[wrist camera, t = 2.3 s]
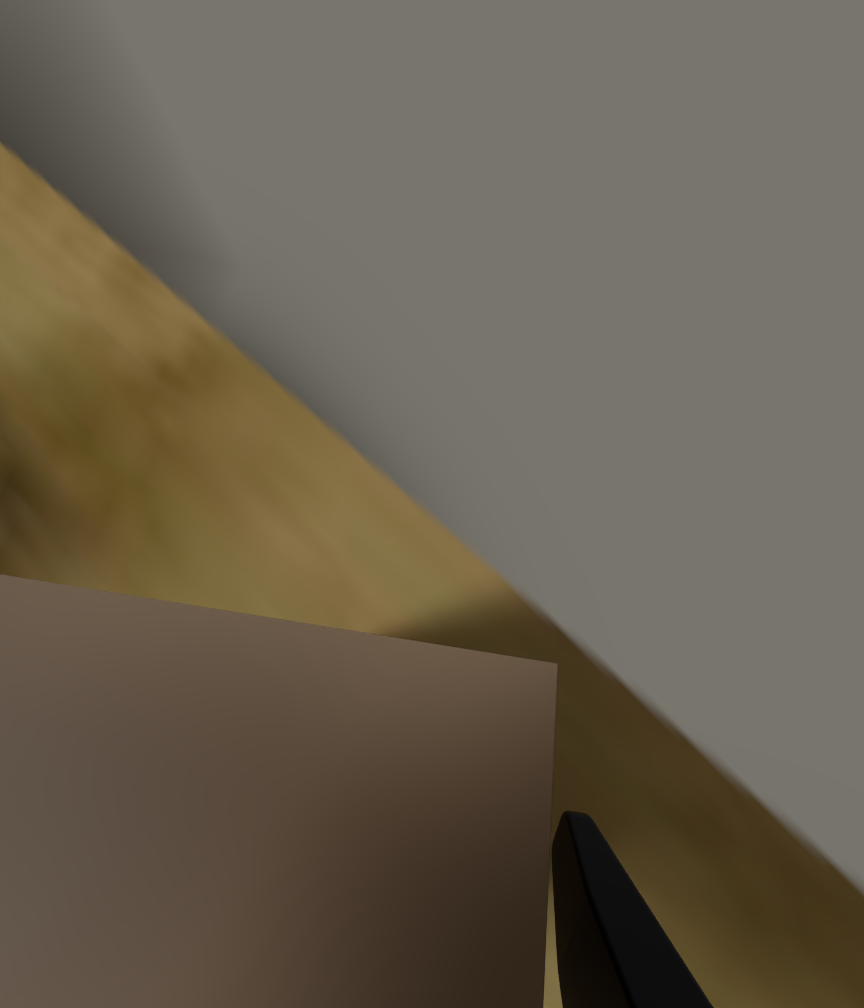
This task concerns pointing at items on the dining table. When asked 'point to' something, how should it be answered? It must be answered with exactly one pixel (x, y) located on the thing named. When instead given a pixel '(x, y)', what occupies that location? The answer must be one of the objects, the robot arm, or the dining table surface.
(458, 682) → the walnut block
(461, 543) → the dining table surface
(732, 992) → the dining table surface
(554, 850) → the robot arm
